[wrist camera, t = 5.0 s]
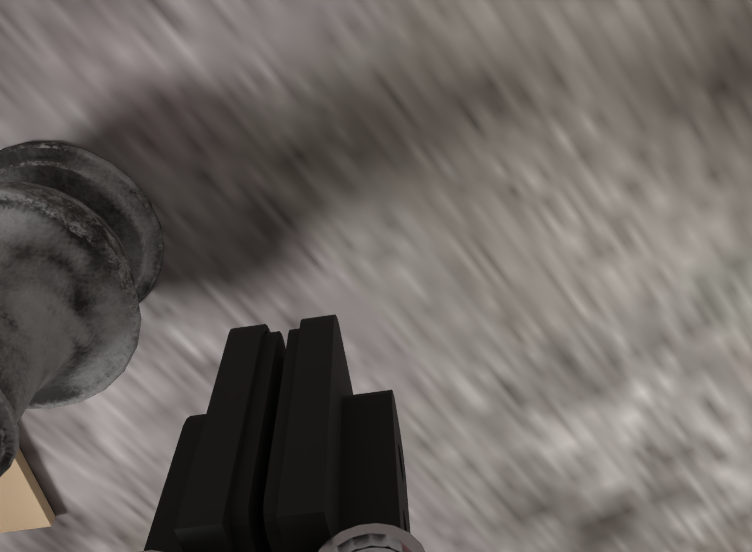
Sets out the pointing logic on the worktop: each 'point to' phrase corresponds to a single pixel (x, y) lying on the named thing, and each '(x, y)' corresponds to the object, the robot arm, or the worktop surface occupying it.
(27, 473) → the cork mat
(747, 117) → the worktop surface
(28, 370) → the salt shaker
